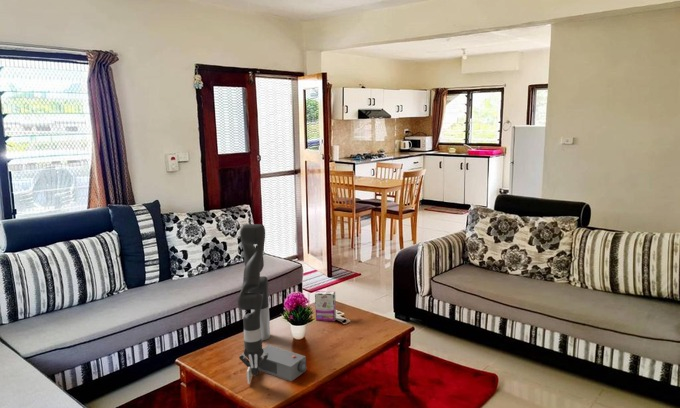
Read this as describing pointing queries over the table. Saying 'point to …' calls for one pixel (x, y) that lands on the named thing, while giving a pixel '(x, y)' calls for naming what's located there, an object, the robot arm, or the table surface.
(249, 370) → the side door
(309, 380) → the table surface
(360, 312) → the table surface
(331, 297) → the candy bar box
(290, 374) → the camera box
